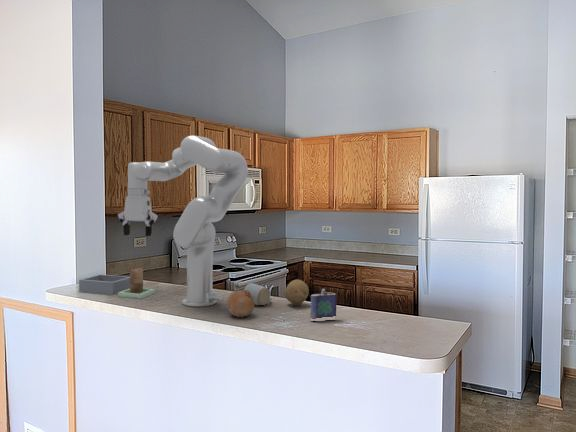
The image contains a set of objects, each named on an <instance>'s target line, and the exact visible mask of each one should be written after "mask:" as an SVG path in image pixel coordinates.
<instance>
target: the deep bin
mask: <svg viewBox="0 0 576 432" xmlns="http://www.w3.org/2000/svg"><path fill="white" fill-rule="evenodd" d="M78 282H79V283H78V292H79V293H88V294H99V295H101V294H102V295H111V296H114V295H118V292H121V291H124V290H127V289H130V276H126V275H114V274H113V275H111V274H96V275H92V276H89V277H85V278H81V279H79V280H78Z"/></svg>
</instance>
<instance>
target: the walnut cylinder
mask: <svg viewBox="0 0 576 432" xmlns="http://www.w3.org/2000/svg"><path fill="white" fill-rule="evenodd" d="M129 277H130V293H137V294H140V293H143V288H144V269H143V267H134V268H130V269H129Z"/></svg>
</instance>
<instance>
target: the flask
mask: <svg viewBox="0 0 576 432" xmlns="http://www.w3.org/2000/svg"><path fill="white" fill-rule="evenodd" d="M337 298H338V295H337V293H335V292H331V291H330V292H329V291H326V289H325V288H321V291H320V293H314V294H311V295H310V318H312V319H316V318H322V317H333V316H336V317H337V305H338V304H337V301H338V299H337ZM310 318H309V319H310Z"/></svg>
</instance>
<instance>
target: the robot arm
mask: <svg viewBox="0 0 576 432" xmlns="http://www.w3.org/2000/svg"><path fill="white" fill-rule="evenodd" d="M171 156H172V157H171V158H172V159H170V160H168V161H165V162H158V161H147V160H146V161H142V162H137V161H133V162H129V163H128V165H127V196H126V197H125V201H124V202H125V203H124V210H123V211H121V212H120V213H118V214H117V217H118V219H119V222H120V223H121V225H122V226H123V235H124V236H129V235H130V233H131V231H130V229H131V227H130V226H131V225H130V223H131V222H143V223H145V225H146V226H145V237H151V236H152V233H153V232H152V231H153V230H152V229H153V226H154V224H155V223H156V221H157V219H158V217H159V216H158V215H157V214H156V213H154V212H153V211H152V203H151V198H150V196H148V195H150V194H151V191H150V190H149V189H148V181H149V182H154V181H155V182H166V181H170V180H173V179H174V178H177V177H179V176H181V175H183V173H184V172H186V170H187V169H188V170H189V169H190V168H192V167H195V166H197V165H198V166H200V167H201V168H202V169H203V168H204V169H205V170H207V171H209V172H212V173H219V174H223V176H222V177H221V178H219V180H218V181H217V182H216V184H215V185H214V186H213V187H212V190H211V192H210V193H209V194H208V195H205V196H197V197H194V198H193V199H192V200H191V201H189V202H188V204H187V205H186V207H185V208H184V210H183V212H182V214H181V216H180V218H178V221H177V222H176V224H175V226H174V229H173V234H172V235H173V241H174V242H175V244H176V245H178V246H179V247H182V248H188V251H187V256H186V257H187V258H186V297H185V298H183V299H182V304H183V305H184V306H187V307H197V308H198V307H210V306H212V305H215V304H216V303H217V301H220V302H221V301H222V300H223V297H222V294H218V293H217V294H216V290H215V289H213V275H214V273H213V270H214V269H213V268H214V267H213V266H214V265H213V262H214V261H213V260H214V246H215V240H216V234H217V233H216V228H215V226H214V225H213V223H216V222H217V223H218V222H220V221H221V220H222V219H223V218H224V216H225V215H226V213H227V212H228V210H229V209H230V206H231V205H232V203H233V202H234V200H235V198H236V196H237V195H238V194H239V192H240V191H241V189H242V187H243V186H244V185H245V183H246V180H247V178H248V172H249V171H248V170H249V169H248V163H247V160H246V159H245V157H244V156H243V155H242V154H241V153H239V152H238V151H235V150H231V149H227V148H219V147H217V145H216V143H215V142H214V141H213V140H212V139H210V138H208V137H205V136H199V135H188V136H186V137H185V138H184V139H182V141H181V143H180V146H179V147H177V148H175V149H174V150H173V151H172V154H171Z"/></svg>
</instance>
